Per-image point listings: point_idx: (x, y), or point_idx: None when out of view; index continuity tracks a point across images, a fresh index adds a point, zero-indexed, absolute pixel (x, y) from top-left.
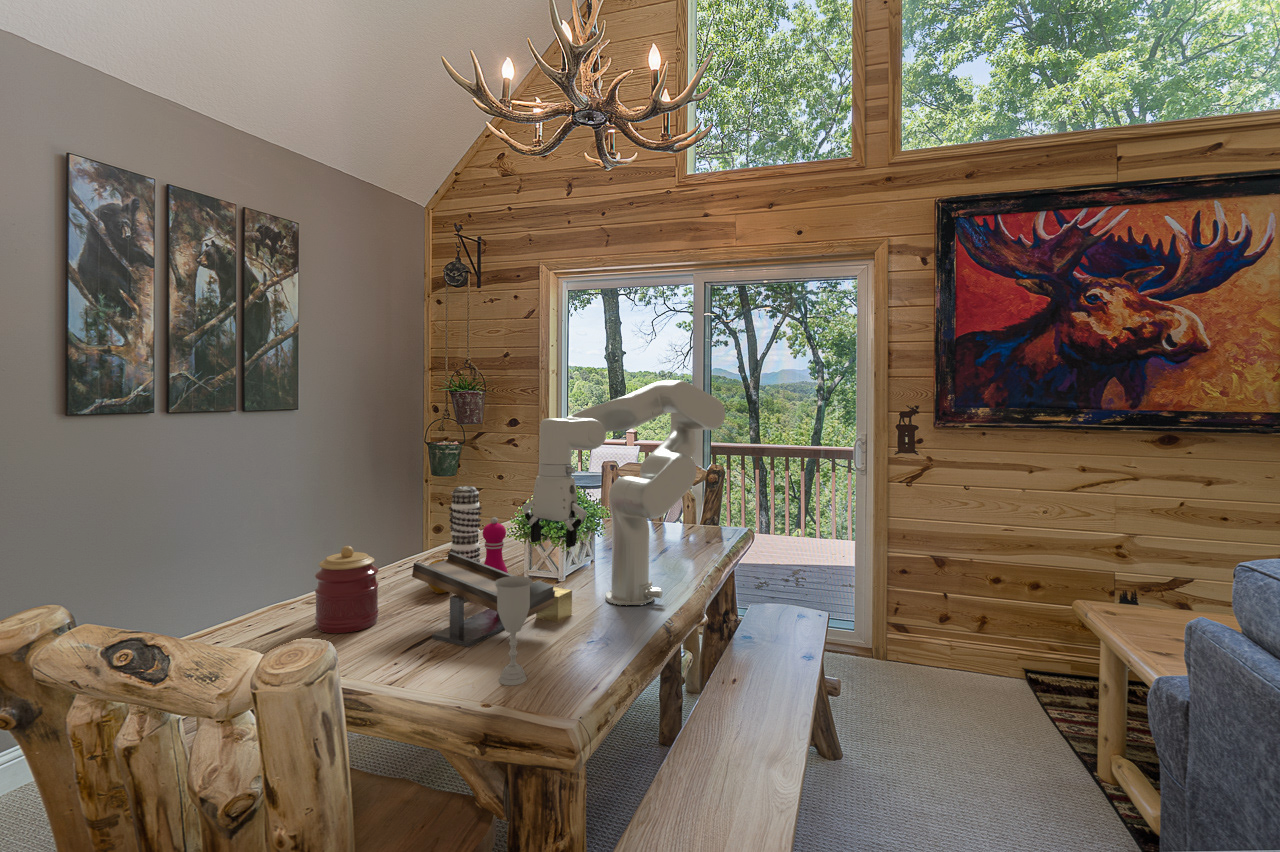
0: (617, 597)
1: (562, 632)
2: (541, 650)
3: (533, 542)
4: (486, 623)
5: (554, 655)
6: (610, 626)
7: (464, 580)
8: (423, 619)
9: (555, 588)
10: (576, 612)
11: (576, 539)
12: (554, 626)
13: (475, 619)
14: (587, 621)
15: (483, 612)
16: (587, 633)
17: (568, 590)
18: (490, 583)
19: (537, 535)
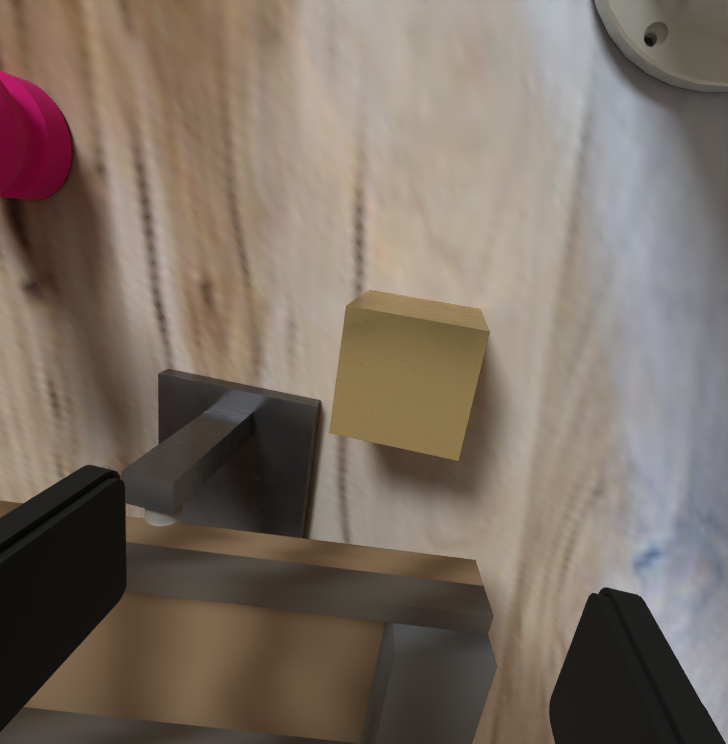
0: (701, 28)
1: (512, 501)
2: (498, 641)
3: (121, 582)
4: (241, 526)
5: (552, 666)
6: (700, 400)
7: (66, 665)
8: (41, 491)
9: (386, 332)
10: (492, 274)
11: (716, 728)
12: (460, 454)
13: (187, 500)
14: (577, 370)
15: (168, 435)
16: (613, 492)
17: (472, 346)
18: (164, 626)
19: (71, 582)
